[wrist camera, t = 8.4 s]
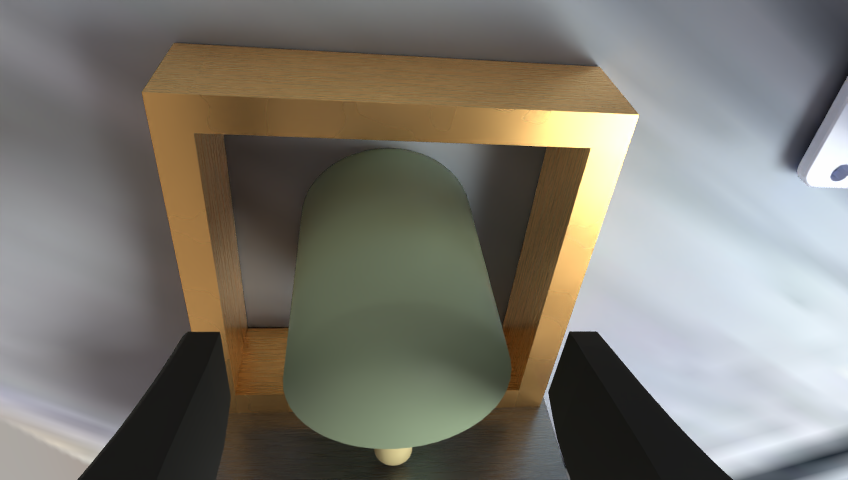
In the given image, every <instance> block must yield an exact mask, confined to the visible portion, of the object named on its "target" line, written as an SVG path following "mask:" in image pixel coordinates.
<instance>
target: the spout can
mask: <svg viewBox="0 0 848 480" xmlns="http://www.w3.org/2000/svg"><path fill="white" fill-rule="evenodd" d="M510 379H511V359H510V355H509V352H508V348H507V344H506V340H505V337H504V333H503V329H502V325H501V322H500V318H499V314H498V310H497V307H496V303H495V299H494V295H493V292H492V288H491V284H490V280H489V277H488V273H487V269H486V266H485V262H484V258H483V254H482V251H481V247H480V243H479V239H478V236H477V232H476V228H475V224H474V221H473V217H472V213H471V209H470V206H469V202H468V199H467V195H466V193H465V191H464V189H463V187H462V185H461V184H460V182H459V181H458V179H457V178H456V177H455V176H454V175H453V174H452V173H451V171H450V170H448V169H447V168H446V167H445V166H443V165H442V164H440V163H439V162H437V161H435V160H434V159H432V158H430V157H427V156H425V155H423V154H420V153H416V152H413V151H408V150H402V149H390V148H385V149H373V150H368V151H363V152H360V153H356V154H353V155H351V156H348V157H346V158H344V159H342V160H340V161H338V162H337V163H335V164H333V165H332V166H330V167H329V168H328V169H327V170H325V171H324V172H323V173H322V174H321V175H320V176H319V177H318V178H317V179H316V180H315V182H314V183H313V185H312V186H311V187H310V189H309V191H308V193H307V195H306V197H305V200H304V204H303V208H302V215H301V223H300V232H299V241H298V250H297V259H296V267H295V276H294V285H293V294H292V303H291V312H290V320H289V329H288V338H287V347H286V356H285V365H284V373H283V390H284V394H285V398H286V400H287V402H288V404H289V406H290V408H291V409H292V411H293V412H294V414H295V415H296V416H297V417H298V418H299V419H300V420H301V421H302V422H303V423H304V424H305V425H307V426H308V427H310V428H311V429H312V430H314V431H316V432H317V433H319V434H321V435H323V436H325V437H327V438H330V439H332V440H335V441H338V442H341V443H344V444H348V445H353V446H357V447H364V448H373V449H374V452H375V455H376V457H377V458H378V460H379V461H381V462H382V463H384V464H386V465H391V466H395V465H400V464H402V463H404V462H405V461H407V460H408V458H409V457H410V455H411V453H412V447H417V446H422V445H427V444H431V443H435V442H438V441H441V440H444V439H447V438H450V437H452V436H454V435H457V434H459V433H461V432H463V431H465V430H467V429H469V428H470V427H472V426H474V425H475V424H476V423H478V422H479V421H481V420H482V419H483V418H485V417H486V416H487V415H488V414H489V413H490V412H491V411H492V410H493V409H494V408H495V407H496V406H497V405H498V403H499V402H500V401H501V399H502V398H503V396H504V394H505V392H506V390H507V388H508V385H509V382H510Z"/></svg>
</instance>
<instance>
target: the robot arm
mask: <svg viewBox="0 0 848 480" xmlns="http://www.w3.org/2000/svg"><path fill="white" fill-rule="evenodd" d="M837 167H839V168H838V169H837V170H835V171H834V169H835V168H837ZM833 171H834V172H833ZM797 175H798V177H799V178H800V179H801V180H802V181H803V182H804V183H805V184H806V185H807V186H810V187H822V188H848V77H847V78H846V80H845V82H844V84H843V86H842V87H841V89H840V91H839V93H838V95H837V97H836V98H835V100H834V102H833V104H832V106H831V108H830V109H829V111H828V113H827V115H826V117H825V118H824V120H823V122H822V124H821V126H820V128H819V129H818V131H817V133H816V135H815V137H814V139H813V140H812V142H811V144H810V146H809V148H808V149H807V151H806V153H805V155H804V157H803V159H802V160H801V162H800V164H799V166H798V169H797ZM548 394H549V399H550V405H551V410H552V416H553V421H554V426H555V430H556V435H557V439H558V443H559V446H560V449H561V452H562V455H563V458H564V462H565V465H566V468H567V471H568V474H569V477H570V480H733V479H732V478H731V477H729V476H728V475H727V474H726V473H725V472H724V471H723V470H722V469H721V468H720V467H719V466H718V465H717V464H715V463H714V462H713V461H712V460H711V459H710V458H709V457H708V456H707V455H706V454H705V453H704V452H703V451H702V450H701V449H700V448H699V447H698V446H697V445H696V444H695V443H694V442H693V441H692V440H691V439H690V438H689V437H688V436H687V434H686V433H685V432H684V431H683V430H682V429H681V428H680V427H679V426H678V425H677V424H676V423H675V422H674V421H673V419H672V418H671V417H670V416H669V415H668V414H667V413H666V412H665V411H664V409H663V408H662V407H661V406H660V405H659V404H658V403H657V402H656V401H655V399H654V398H653V397H652V396H651V395H650V394H649V393H648V391H647V390H646V389H645V388H644V387H643V386H642V385H641V383H640V382H639V381H638V380H637V379H636V377H635V376H634V375H633V374H632V373H631V372H630V370H629V369H628V368H627V367H626V366H625V364H624V363H623V362H622V361H621V360H620V358H619V357H618V356H617V355H616V354H615V352H614V351H613V350H612V349H611V348H610V346H609V345H608V344H607V343H606V342H605V341H604V339H603V338H602V337H601V336H600V335H599V334H598V332H569V334H568V337H567V340H566V343H565V346H564V349H563V352H562V354H561V357H560V360H559V363H558V366H557V369H556V372H555V375H554V377H553V380H552V383H551V386H550V389H549V392H548ZM230 400H231V394H230V388H229V382H228V376H227V370H226V364H225V358H224V352H223V346H222V340H221V334H220V332H187V333H186V334H185V335H184V336H183V337H182V339H181V340H180V342H179V343H178V345H177V347H176V348H175V350H174V352H173V353H172V355H171V356H170V358H169V359H168V361H167V362H166V364H165V366H164V367H163V369H162V370H161V372H160V373H159V375H158V376H157V377H156V379H155V380H154V382H153V383H152V385H151V386H150V388H149V389H148V391H147V392H146V393H145V395H144V396H143V397H142V399H141V400H140V401H139V403H138V404H137V406H136V407H135V408H134V410H133V411H132V412H131V414H130V415H129V416H128V418H127V419H126V420H125V422H124V423H123V425H122V426H121V427H120V428H119V430H118V431H117V432H116V434H115V435H114V436H113V437H112V438H111V440H110V441H109V442H108V443H107V445H106V446H105V447H104V448H103V450H102V451H101V452H100V453H99V454H98V456H97V457H96V458H95V459H94V461H93V462H92V463H91V464H90V465H89V467H88V468H87V469H86V470H85V471H84V473H83V474H82V475H81V476H80V477H79V478H78V480H216V477H217V473H218V469H219V465H220V461H221V457H222V453H223V449H224V444H225V437H226V430H227V423H228V416H229V408H230Z"/></svg>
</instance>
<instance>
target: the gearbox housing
mask: <svg viewBox="0 0 848 480" xmlns="http://www.w3.org/2000/svg"><path fill="white" fill-rule="evenodd" d="M142 96H143V101H144V106H145V110H146V115H147V120H148V125H149V130H150V134H151V139H152V144H153V149H154V154H155V158H156V163H157V168H158V173H159V178H160V182H161V187H162V192H163V197H164V202H165V207H166V211H167V216H168V221H169V226H170V231H171V235H172V240H173V245H174V250H175V255H176V259H177V264H178V269H179V274H180V279H181V283H182V288H183V293H184V298H185V303H186V308H187V312H188V317H189V322H190V327H191V332H220V334H221V340H222V346H223V352H224V358H225V364H226V370H227V376H228V382H229V388H230V394H231V400H230V408H229V416H228V423H227V430H226V437H225V444H224V449H223V453H222V457H221V461H220V465H219V469H218V473H217V477H216V480H568V477H567V474H566V470H565V467H564V464H563V461H562V457H561V454H560V451H559V447H558V444H557V441H556V437H555V434H554V431H553V427H552V424H551V421H550V417H549V414H548V411H547V407H546V404H545V401H544V398H543V396H544V393H545V390H546V387H547V384H548V381H549V378H550V375H551V372H552V369H553V367H554V364H555V361H556V358H557V355H558V352H559V349H560V346H561V343H562V340H563V337H564V334H565V331H566V328H567V325H568V322H569V319H570V317H571V314H572V311H573V308H574V305H575V302H576V299H577V296H578V293H579V290H580V287H581V284H582V281H583V278H584V275H585V272H586V270H587V267H588V264H589V261H590V258H591V255H592V252H593V249H594V246H595V243H596V240H597V237H598V234H599V231H600V228H601V225H602V222H603V220H604V217H605V214H606V211H607V208H608V205H609V202H610V199H611V196H612V193H613V190H614V187H615V184H616V181H617V178H618V175H619V172H620V170H621V167H622V164H623V161H624V158H625V155H626V152H627V149H628V146H629V143H630V140H631V137H632V134H633V131H634V128H635V125H636V122H637V120H638V117H639V114H638V113H637V112H636V110H635V109H634V108H633V107H632V106H631V104H630V103H629V102H628V101H627V100H626V98H625V97H624V96H623V95H622V93H621V92H620V91H619V90H618V89H617V87H616V86H615V85H614V84H613V83H612V81H611V80H610V79H609V78H608V76H607V75H606V74H605V73H604V72H603V70H602V69H601V68H600V67H594V66H576V65H558V64H540V63H523V62H505V61H487V60H469V59H451V58H433V57H416V56H398V55H380V54H362V53H344V52H326V51H308V50H291V49H273V48H255V47H237V46H219V45H201V44H183V43H174V44H173V45H172V47H171V48H170V50H169V51H168V53H167V54H166V56H165V57H164V59H163V60H162V62H161V63H160V65H159V66H158V68H157V70H156V71H155V73H154V74H153V76H152V77H151V79H150V80H149V82H148V83H147V85H146V86H145V88H144V89H143V91H142ZM224 134H229V135H256V136H282V137H309V138H335V139H362V140H389V141H415V142H442V143H469V144H495V145H522V146H547V148H546V152H545V156H544V160H543V164H542V168H541V172H540V177H539V181H538V185H537V189H536V193H535V197H534V201H533V205H532V209H531V213H530V217H529V221H528V225H527V229H526V233H525V237H524V242H523V246H522V250H521V254H520V258H519V262H518V266H517V270H516V274H515V278H514V282H513V286H512V290H511V294H510V298H509V302H508V307H507V311H506V315H505V319H504V323H503V327H502V329H503V333H504V337H505V340H506V344H507V348H508V352H509V355H510V359H511V379H510V382H509V385H508V388H507V390H506V392H505V394H504V396H503V398H502V399H501V401H500V402H499V403H498V405H497V406H496V407H495V408H494V409H493V410H492V411H491V412H490V413H489V414H488V415H487V416H486V417H485V418H483V419H482V420H481V421H479V422H478V423H476V424H475V425H474V426H472V427H470V428H469V429H467V430H465V431H463V432H461V433H459V434H457V435H454V436H452V437H450V438H447V439H444V440H441V441H438V442H435V443H431V444H427V445H422V446H417V447H412V453H411V455H410V457H409V458H408V460H407V461H405V462H404V463H402V464H400V465H395V466H391V465H386V464H384V463H382V462H381V461H379V460H378V458H377V457H376V455H375V452H374V449H373V448H364V447H357V446H353V445H348V444H344V443H341V442H338V441H335V440H332V439H330V438H327V437H325V436H323V435H321V434H319V433H317V432H316V431H314V430H312V429H311V428H310V427H308V426H307V425H305V424H304V423H303V422H302V421H301V420H300V419H299V418H298V417H297V416H296V415H295V414H294V412H293V411H292V409H291V408H290V406H289V404H288V402H287V400H286V398H285V394H284V390H283V373H284V365H285V356H286V347H287V338H288V329H289V328H248V326H247V318H246V310H245V302H244V294H243V286H242V278H241V270H240V262H239V254H238V246H237V238H236V230H235V222H234V214H233V206H232V198H231V190H230V182H229V174H228V166H227V158H226V150H225V142H224Z"/></svg>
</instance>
